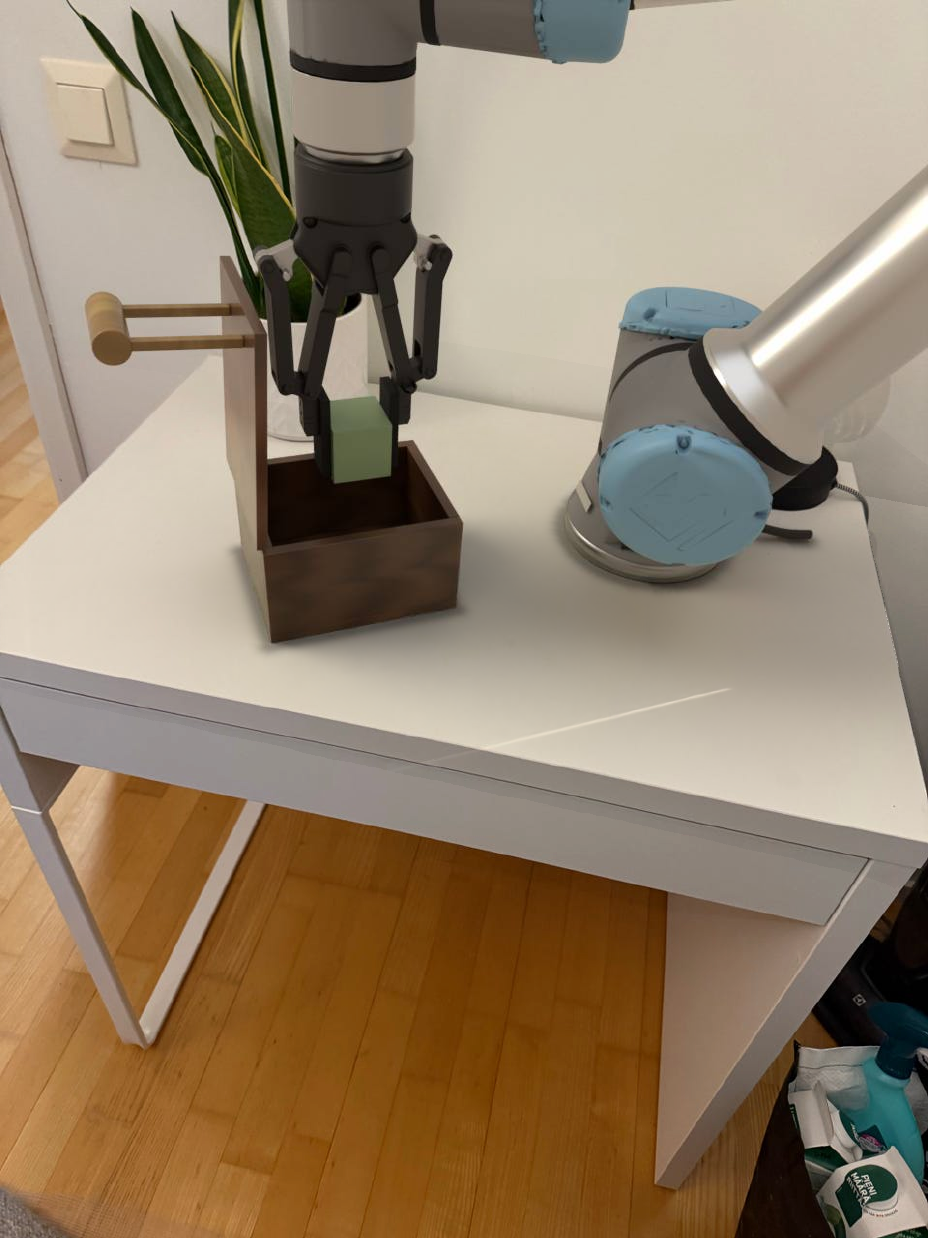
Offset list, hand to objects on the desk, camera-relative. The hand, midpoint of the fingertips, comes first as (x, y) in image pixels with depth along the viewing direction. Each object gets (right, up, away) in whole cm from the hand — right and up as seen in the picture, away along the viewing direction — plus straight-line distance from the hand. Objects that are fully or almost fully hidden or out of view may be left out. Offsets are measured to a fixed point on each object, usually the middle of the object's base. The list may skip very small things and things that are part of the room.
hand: (356, 462), depth 74 cm
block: (0, 0, 0) cm, 0 cm away
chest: (-2, -9, +7) cm, 12 cm away
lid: (-7, +3, -7) cm, 10 cm away
